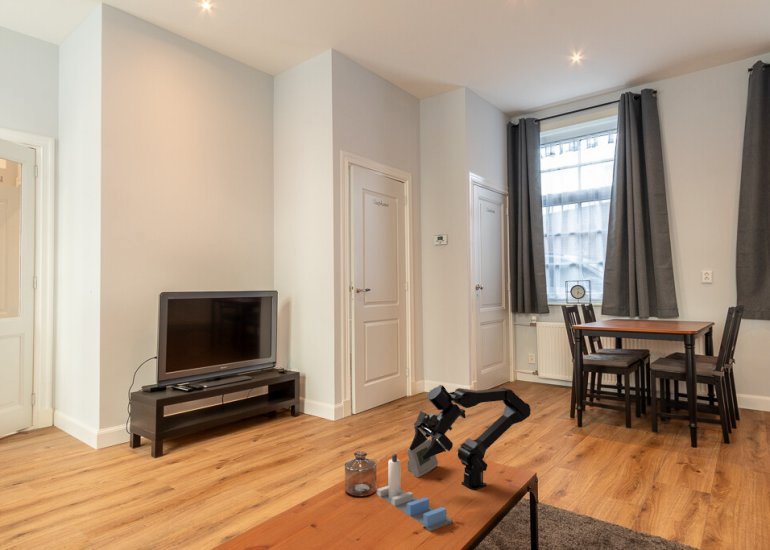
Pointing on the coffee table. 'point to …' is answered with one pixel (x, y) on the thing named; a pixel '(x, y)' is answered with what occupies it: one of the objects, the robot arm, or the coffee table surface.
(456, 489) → the coffee table surface
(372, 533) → the coffee table surface
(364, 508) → the coffee table surface
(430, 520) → the slotted divider tray
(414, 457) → the digital clock
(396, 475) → the bottle
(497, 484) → the coffee table surface
